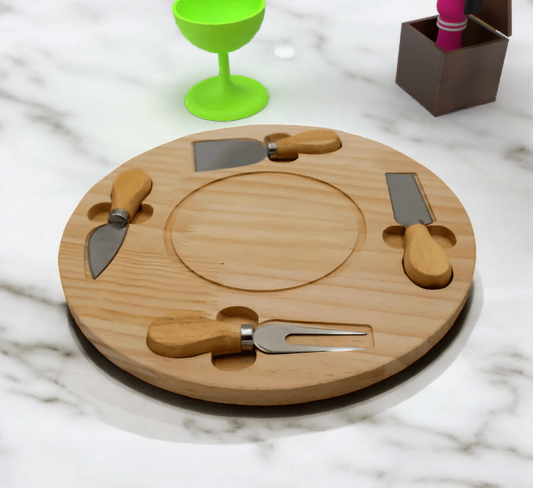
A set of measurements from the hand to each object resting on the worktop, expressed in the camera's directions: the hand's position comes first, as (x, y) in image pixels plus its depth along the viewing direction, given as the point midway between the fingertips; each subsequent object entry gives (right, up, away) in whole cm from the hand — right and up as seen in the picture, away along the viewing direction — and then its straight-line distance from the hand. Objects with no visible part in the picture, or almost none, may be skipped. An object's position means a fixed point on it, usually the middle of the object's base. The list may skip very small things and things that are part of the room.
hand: (454, 2), depth 110 cm
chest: (+1, -12, +12) cm, 17 cm away
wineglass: (-39, -13, +13) cm, 44 cm away
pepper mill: (+1, -12, +11) cm, 16 cm away
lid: (+5, +3, 0) cm, 5 cm away
